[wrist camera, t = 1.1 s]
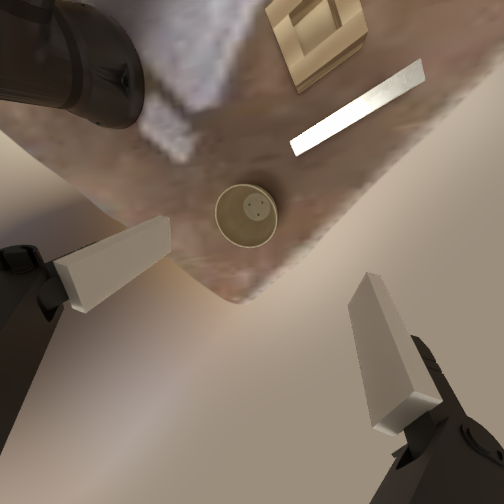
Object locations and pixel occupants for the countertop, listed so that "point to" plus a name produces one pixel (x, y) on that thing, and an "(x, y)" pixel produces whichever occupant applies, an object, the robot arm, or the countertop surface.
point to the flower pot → (246, 215)
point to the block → (316, 35)
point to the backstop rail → (360, 107)
